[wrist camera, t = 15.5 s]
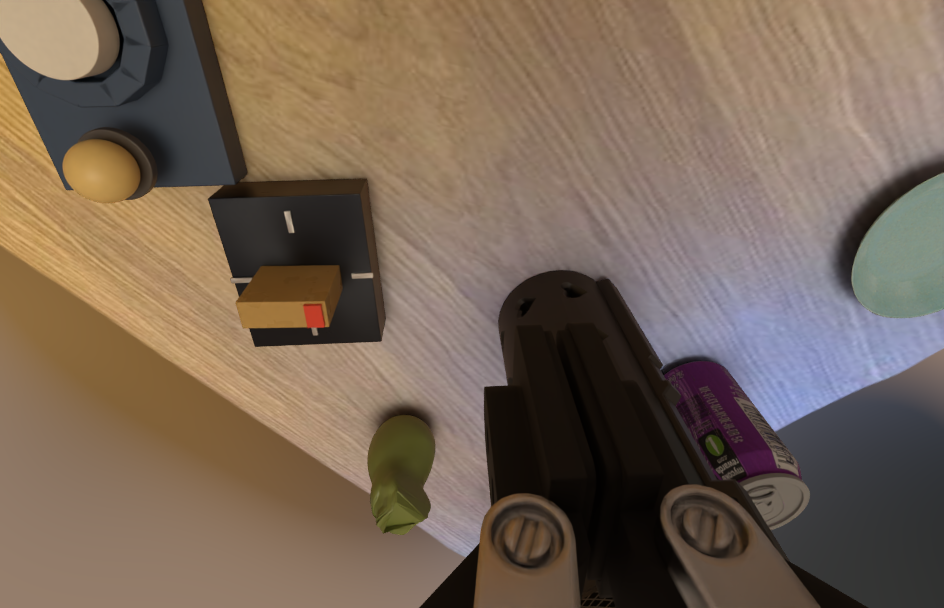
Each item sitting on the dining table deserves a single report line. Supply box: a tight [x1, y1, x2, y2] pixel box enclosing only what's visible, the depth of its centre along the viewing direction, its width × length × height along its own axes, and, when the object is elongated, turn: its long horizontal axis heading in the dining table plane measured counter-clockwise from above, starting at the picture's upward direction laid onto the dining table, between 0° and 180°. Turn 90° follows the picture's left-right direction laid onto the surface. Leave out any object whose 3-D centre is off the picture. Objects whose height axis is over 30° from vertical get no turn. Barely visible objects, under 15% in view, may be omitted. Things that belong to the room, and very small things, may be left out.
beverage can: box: [664, 361, 810, 530], centre depth 38 cm, size 7×7×12 cm
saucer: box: [851, 172, 944, 318], centre depth 35 cm, size 12×12×2 cm
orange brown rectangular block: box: [236, 265, 343, 328], centre depth 30 cm, size 5×2×5 cm, turn 89°
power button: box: [0, 0, 120, 80], centre depth 22 cm, size 4×4×2 cm
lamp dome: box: [63, 127, 158, 203], centre depth 25 cm, size 4×4×3 cm
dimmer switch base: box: [208, 179, 386, 347], centre depth 33 cm, size 11×9×3 cm
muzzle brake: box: [498, 271, 790, 608], centre depth 26 cm, size 10×28×10 cm
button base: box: [0, 0, 247, 190], centre depth 26 cm, size 12×10×4 cm
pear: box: [368, 415, 435, 535], centre depth 39 cm, size 6×5×10 cm
